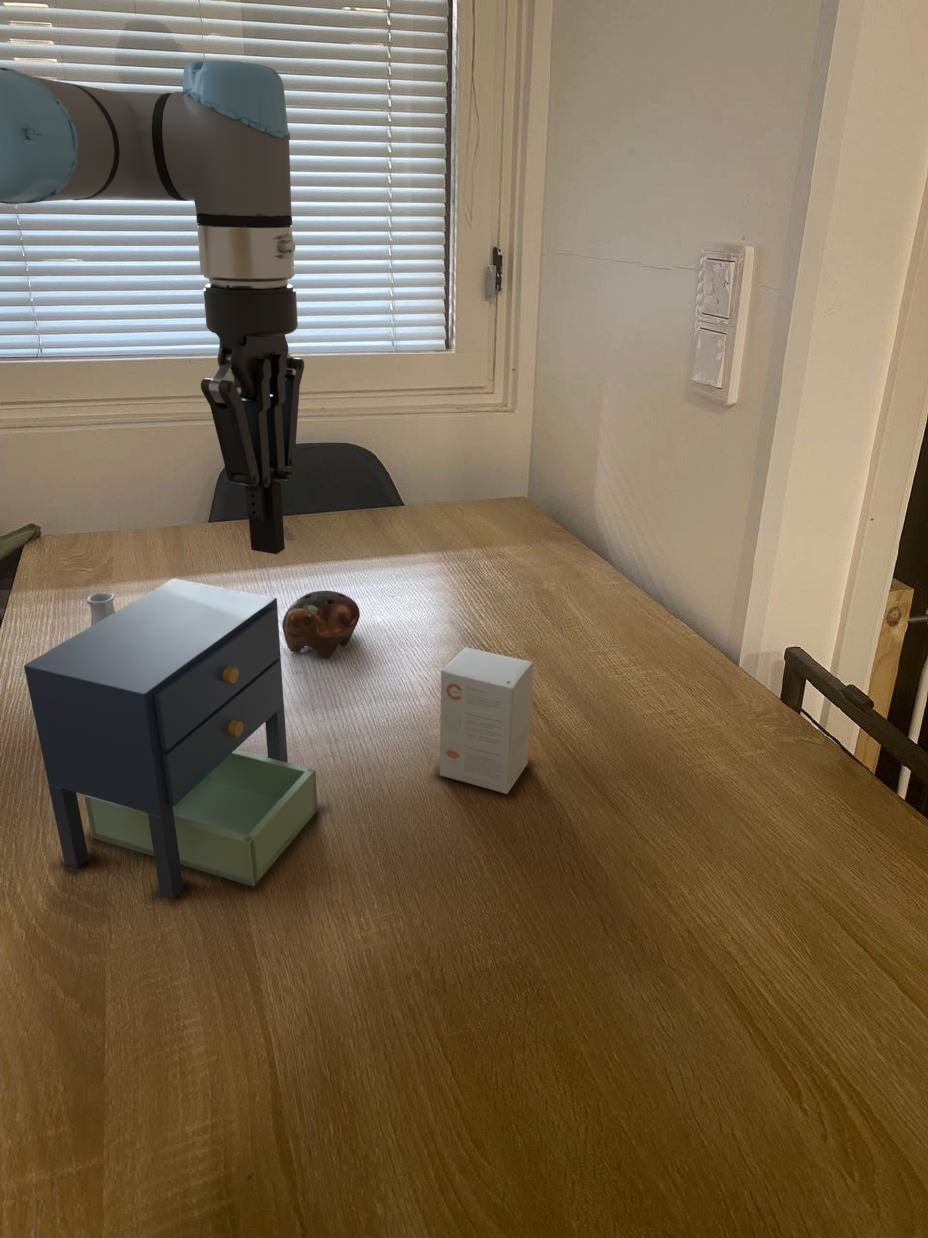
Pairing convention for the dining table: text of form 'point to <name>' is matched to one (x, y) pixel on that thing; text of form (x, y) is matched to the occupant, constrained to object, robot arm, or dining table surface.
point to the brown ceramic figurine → (320, 622)
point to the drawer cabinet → (156, 706)
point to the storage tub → (224, 817)
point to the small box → (485, 719)
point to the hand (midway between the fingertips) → (268, 549)
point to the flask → (100, 606)
